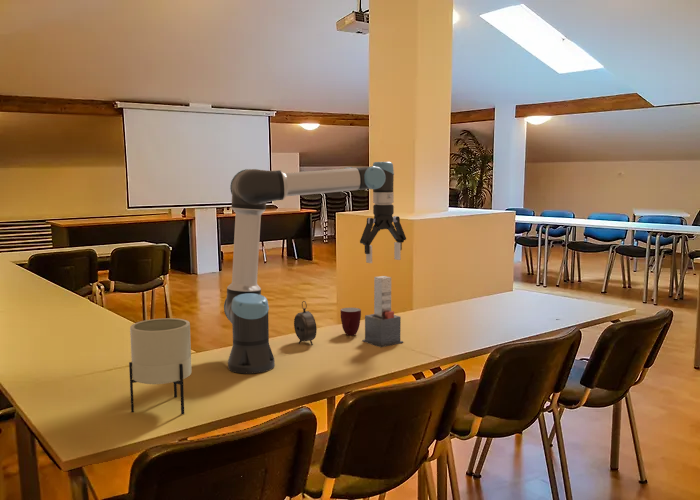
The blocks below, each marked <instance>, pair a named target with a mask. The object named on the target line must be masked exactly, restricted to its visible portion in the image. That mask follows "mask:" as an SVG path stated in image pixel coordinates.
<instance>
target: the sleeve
mask: <svg viewBox="0 0 700 500" xmlns="http://www.w3.org/2000/svg"><path fill="white" fill-rule="evenodd" d="M401 318H402V317H401V316H400V315H395V311H393V310H391V311H387V312H385V318H383V319H380V318H377V317H374V313H372V314H366V315H365V316H364V339H362V340H361V342H363V343H365V344H369V345H372V346H374V347H378V348H385V347H389V346H394V345H399V344H404V341H403V340H401V320H402V319H401Z"/></svg>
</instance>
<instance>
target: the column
mask: <svg viewBox="0 0 700 500" xmlns="http://www.w3.org/2000/svg"><path fill="white" fill-rule="evenodd" d="M373 281H374V287H373V288H374V290H373V293H374V295H373V296H374V299H373V301H374V305H373V306H374V307H373V310H374V311H373V314H374V317H377V318H380V319H383V318H385V312H387V311H392V276H387V275H381V276H379V275H378V276H374V280H373Z"/></svg>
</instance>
